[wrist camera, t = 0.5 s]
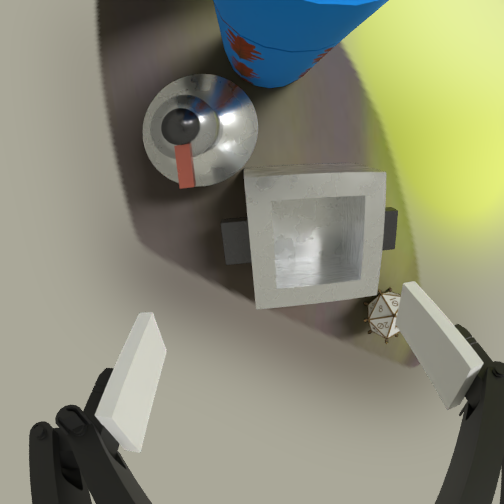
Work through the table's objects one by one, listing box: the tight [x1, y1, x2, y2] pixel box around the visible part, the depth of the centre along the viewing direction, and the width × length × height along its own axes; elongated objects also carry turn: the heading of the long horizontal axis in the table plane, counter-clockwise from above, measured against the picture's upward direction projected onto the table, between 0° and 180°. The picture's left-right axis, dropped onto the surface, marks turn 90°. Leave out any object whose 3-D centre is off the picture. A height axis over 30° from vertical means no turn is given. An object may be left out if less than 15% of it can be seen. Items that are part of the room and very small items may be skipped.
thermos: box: [213, 0, 388, 88], centre depth 18 cm, size 11×11×25 cm
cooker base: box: [221, 163, 398, 309], centre depth 34 cm, size 15×21×9 cm
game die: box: [364, 287, 401, 344], centre depth 40 cm, size 9×8×10 cm
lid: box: [142, 74, 258, 189], centre depth 27 cm, size 13×13×14 cm
